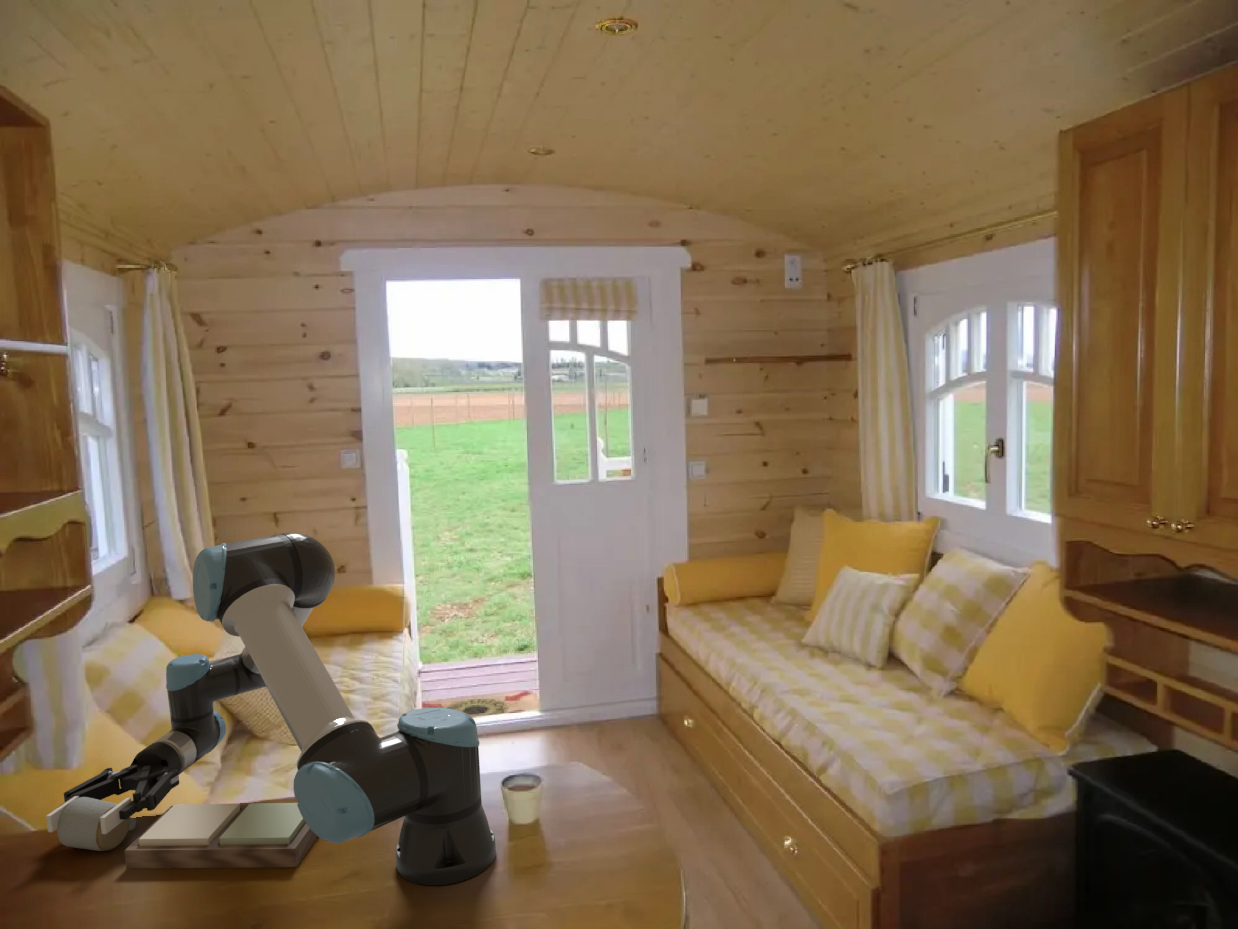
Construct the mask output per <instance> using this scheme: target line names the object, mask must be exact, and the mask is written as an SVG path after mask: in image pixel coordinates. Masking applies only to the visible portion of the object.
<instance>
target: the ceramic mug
mask: <svg viewBox="0 0 1238 929" xmlns="http://www.w3.org/2000/svg"><path fill="white" fill-rule="evenodd" d="M118 804H119V803H115V802H111V801H106V800H103V799H102V800H98V799H94V798H89V797H80V798H77V799H75V800H73V801H72V802H71V803H70V804H69V805H68V806H67V807H66V808H65V809H64V811H63V813H62V815H61V817H60V819H59V823H58V829H57V837H58V839H59V842H60V843H61V844H62V845H63V846H66V847H68V848H76V849H83V850H92V851H96V852H97V851H98V852H104V851H111V850H113V849H115V848H116V847H118V846H119V845H120V844H121V843H122V842H123V840H124V839H125V838H126V836H127V834H128V831H132V830H135V828H136V825H137V819H136V818H133V817H129V818H128V819H126V820H124V821H122V822H121V823H120V824H119V825H117V826H116V827H115V828H113V829H112V830H111V831H110V832H108V833H107V834H102V831H101V822H100V817H102V816H103V815H104V814H106V813H107V812H108V811H110V810H111V809H112V808H114V807H115V806H116V805H118Z"/></svg>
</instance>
